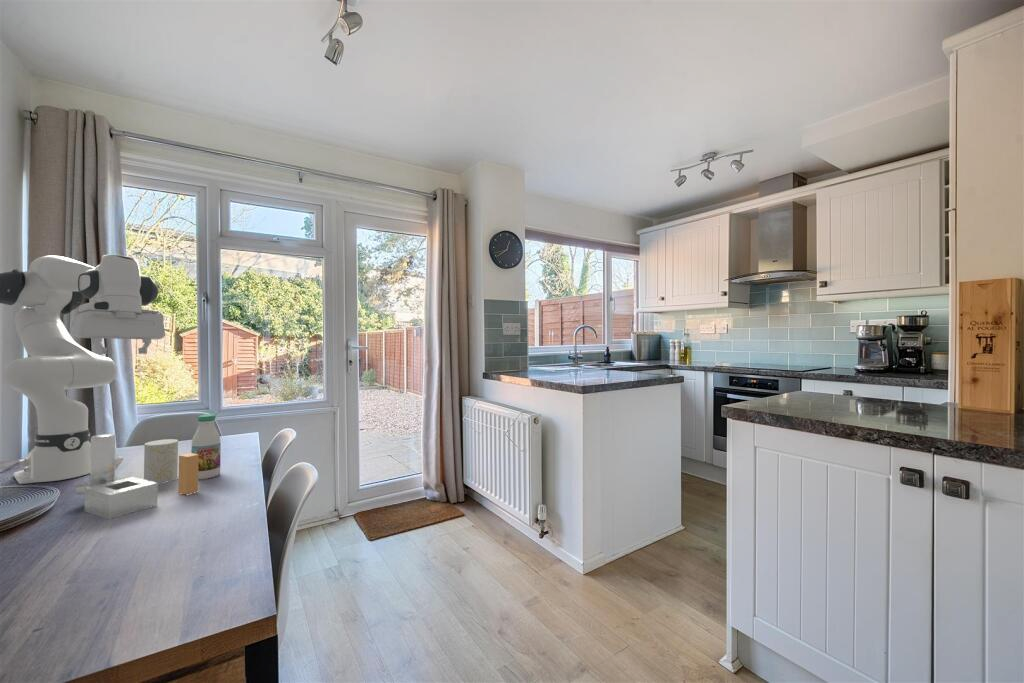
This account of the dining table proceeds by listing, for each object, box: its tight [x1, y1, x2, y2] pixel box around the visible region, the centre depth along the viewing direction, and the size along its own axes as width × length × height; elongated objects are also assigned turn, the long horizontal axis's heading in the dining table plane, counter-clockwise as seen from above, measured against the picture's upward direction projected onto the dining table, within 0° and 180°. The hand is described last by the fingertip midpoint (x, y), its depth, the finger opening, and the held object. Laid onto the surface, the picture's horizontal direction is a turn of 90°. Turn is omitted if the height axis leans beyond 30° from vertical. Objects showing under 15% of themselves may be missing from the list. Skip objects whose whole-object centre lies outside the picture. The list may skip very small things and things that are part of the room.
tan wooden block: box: [177, 452, 199, 496], centre depth 120 cm, size 4×3×11 cm
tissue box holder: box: [75, 433, 159, 520], centre depth 110 cm, size 21×10×18 cm, turn 66°
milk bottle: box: [190, 414, 222, 480], centre depth 134 cm, size 8×8×20 cm
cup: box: [143, 438, 179, 484], centre depth 130 cm, size 8×8×12 cm
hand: (123, 353), depth 122 cm, fingers open, 8 cm apart
